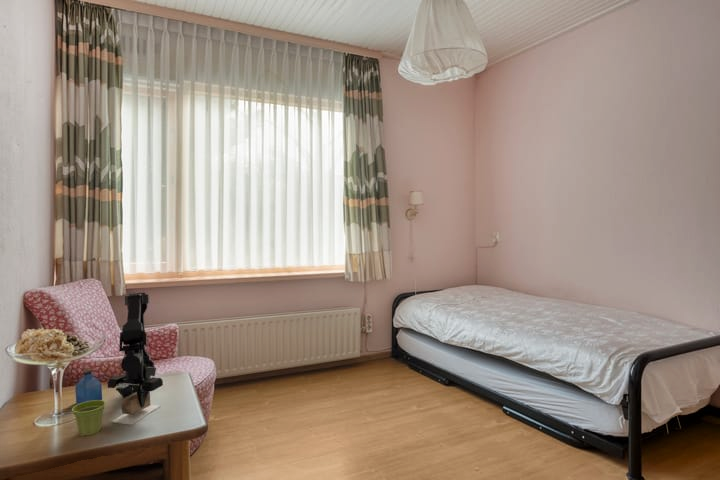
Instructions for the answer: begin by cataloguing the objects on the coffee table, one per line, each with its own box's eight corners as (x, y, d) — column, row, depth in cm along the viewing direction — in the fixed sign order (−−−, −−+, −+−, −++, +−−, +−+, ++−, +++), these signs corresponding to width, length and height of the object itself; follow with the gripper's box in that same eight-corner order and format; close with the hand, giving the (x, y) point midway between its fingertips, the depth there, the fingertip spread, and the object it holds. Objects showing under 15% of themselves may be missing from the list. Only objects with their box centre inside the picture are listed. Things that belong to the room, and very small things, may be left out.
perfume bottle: (76, 403, 166) (74, 372, 165) (92, 396, 172) (90, 366, 171) (85, 405, 163) (84, 374, 163) (102, 399, 169) (100, 369, 168)
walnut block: (122, 413, 152) (121, 399, 151) (140, 403, 159) (140, 390, 159) (131, 415, 150) (131, 400, 150) (150, 405, 158) (149, 391, 157)
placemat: (141, 405, 163) (141, 404, 162) (160, 406, 161) (160, 405, 160) (111, 422, 149) (111, 421, 149) (131, 424, 147) (131, 423, 147)
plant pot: (98, 422, 149) (97, 397, 149) (112, 429, 144) (111, 403, 143) (68, 433, 142) (66, 407, 141) (81, 441, 136) (79, 414, 136)
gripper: (172, 357, 159) (174, 399, 160) (129, 354, 164) (131, 395, 165) (150, 367, 149) (152, 412, 149) (105, 364, 153) (107, 407, 154)
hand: (136, 406), depth 155 cm, fingers closed on walnut block, 5 cm apart
